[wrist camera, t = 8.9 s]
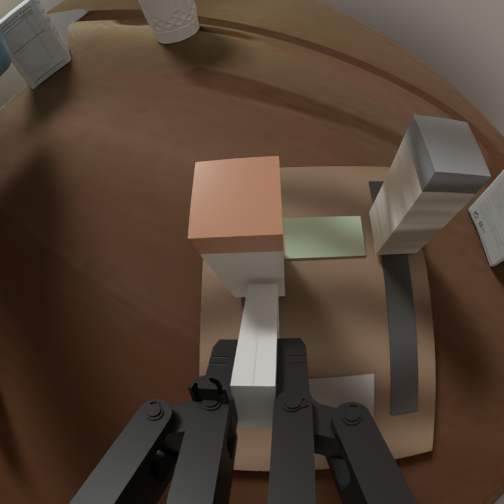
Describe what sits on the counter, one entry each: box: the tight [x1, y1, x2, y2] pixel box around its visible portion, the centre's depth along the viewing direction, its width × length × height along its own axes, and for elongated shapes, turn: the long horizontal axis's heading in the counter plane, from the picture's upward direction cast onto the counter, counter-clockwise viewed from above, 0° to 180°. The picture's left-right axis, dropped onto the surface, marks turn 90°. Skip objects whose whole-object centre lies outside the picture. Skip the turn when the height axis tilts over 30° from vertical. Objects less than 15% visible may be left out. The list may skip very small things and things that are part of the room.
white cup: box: [138, 0, 199, 44], centre depth 31 cm, size 8×8×10 cm
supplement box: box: [0, 0, 71, 89], centre depth 32 cm, size 10×9×17 cm
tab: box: [188, 156, 285, 297], centre depth 15 cm, size 3×3×10 cm
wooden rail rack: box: [200, 115, 491, 471], centre depth 15 cm, size 22×16×12 cm
